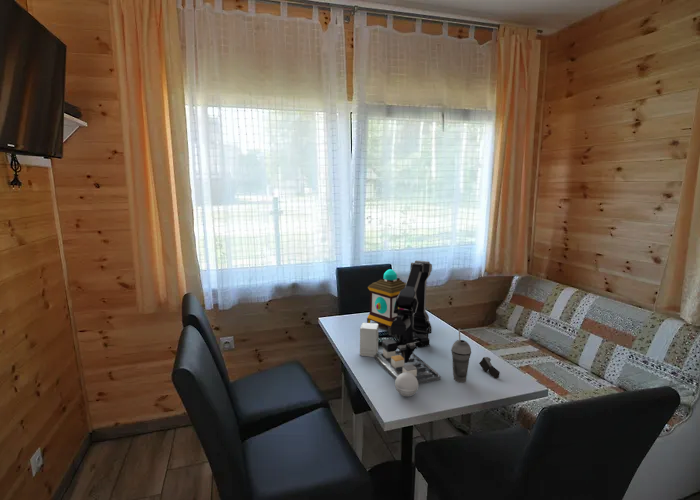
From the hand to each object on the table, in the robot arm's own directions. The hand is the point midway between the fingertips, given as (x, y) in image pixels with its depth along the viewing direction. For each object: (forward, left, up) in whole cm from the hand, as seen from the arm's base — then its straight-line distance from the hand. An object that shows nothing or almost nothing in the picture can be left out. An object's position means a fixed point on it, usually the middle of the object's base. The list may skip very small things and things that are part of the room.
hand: (405, 362), depth 147 cm
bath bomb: (+9, +17, -3) cm, 19 cm away
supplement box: (+8, -18, -3) cm, 20 cm away
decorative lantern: (-16, -46, -3) cm, 49 cm away
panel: (0, 0, -3) cm, 3 cm away
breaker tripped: (+4, 0, -1) cm, 4 cm away
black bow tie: (-29, +15, -3) cm, 33 cm away
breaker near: (+3, +8, -1) cm, 9 cm away
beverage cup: (-15, +15, -3) cm, 21 cm away
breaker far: (+3, -9, -1) cm, 9 cm away
